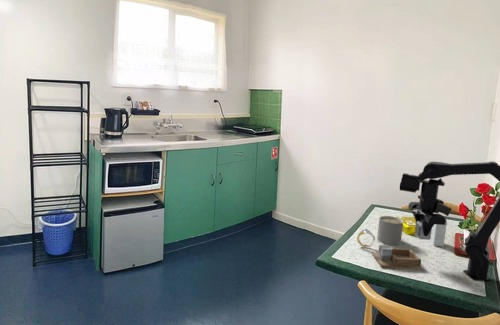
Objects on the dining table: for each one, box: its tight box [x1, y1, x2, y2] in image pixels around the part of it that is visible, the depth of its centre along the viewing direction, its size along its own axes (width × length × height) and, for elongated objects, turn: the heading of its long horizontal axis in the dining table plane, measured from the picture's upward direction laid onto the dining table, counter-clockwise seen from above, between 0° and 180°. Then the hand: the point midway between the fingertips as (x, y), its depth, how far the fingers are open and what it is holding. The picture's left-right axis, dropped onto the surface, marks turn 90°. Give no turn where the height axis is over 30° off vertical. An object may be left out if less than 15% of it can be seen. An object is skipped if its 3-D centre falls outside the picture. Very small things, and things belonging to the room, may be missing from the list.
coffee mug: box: [376, 215, 403, 246], centre depth 159 cm, size 13×10×10 cm
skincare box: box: [429, 219, 448, 248], centre depth 156 cm, size 6×4×12 cm
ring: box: [356, 228, 376, 248], centre depth 150 cm, size 7×3×8 cm, turn 62°
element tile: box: [396, 216, 416, 236], centre depth 173 cm, size 15×15×5 cm
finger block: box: [414, 221, 432, 241], centre depth 136 cm, size 4×4×6 cm
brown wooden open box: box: [371, 244, 423, 270], centre depth 137 cm, size 11×15×6 cm
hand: (423, 233), depth 136 cm, fingers closed on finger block, 4 cm apart
